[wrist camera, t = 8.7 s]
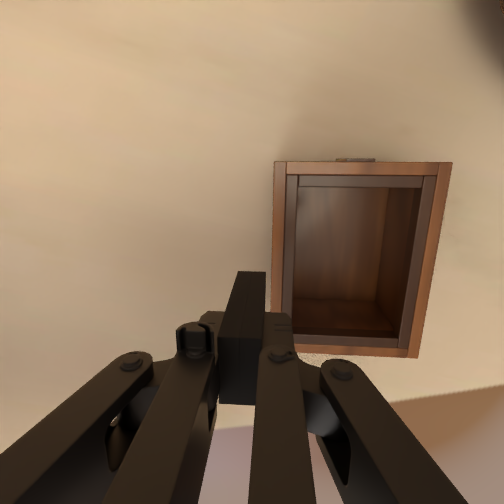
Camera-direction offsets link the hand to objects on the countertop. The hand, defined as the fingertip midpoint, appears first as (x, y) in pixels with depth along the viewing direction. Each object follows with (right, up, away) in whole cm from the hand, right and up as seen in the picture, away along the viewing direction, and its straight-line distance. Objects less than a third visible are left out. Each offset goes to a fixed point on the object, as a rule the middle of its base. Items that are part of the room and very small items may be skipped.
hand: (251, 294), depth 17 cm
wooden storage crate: (+2, +3, +9) cm, 10 cm away
